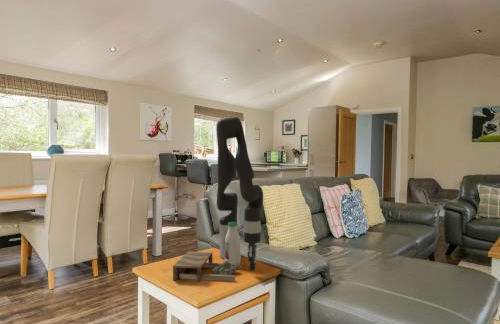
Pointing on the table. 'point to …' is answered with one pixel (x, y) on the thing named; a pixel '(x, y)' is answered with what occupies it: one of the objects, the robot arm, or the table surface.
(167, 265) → the table surface
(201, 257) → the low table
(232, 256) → the milk bottle
